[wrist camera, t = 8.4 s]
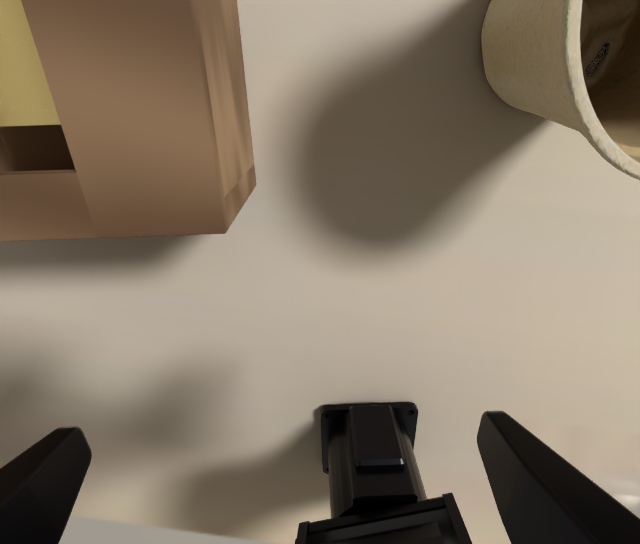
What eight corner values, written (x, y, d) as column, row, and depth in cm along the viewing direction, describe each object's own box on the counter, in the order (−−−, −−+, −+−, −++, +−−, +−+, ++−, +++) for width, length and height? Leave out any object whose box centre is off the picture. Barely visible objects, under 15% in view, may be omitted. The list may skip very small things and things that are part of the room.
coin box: (256, 184, 17) (225, 233, 11) (10, 192, 17) (-160, 246, 11) (218, -167, 12) (120, -451, 6) (-134, -158, 12) (-616, -435, 6)
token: (137, 116, 16) (67, 124, 11) (82, 118, 16) (-11, 126, 11) (99, -46, 13) (-11, -121, 9) (34, -43, 13) (-110, -118, 9)
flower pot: (421, 145, 17) (515, 185, 9) (464, -133, 13) (702, -492, 5) (613, 152, 17) (863, 196, 9) (716, -116, 13) (1308, -428, 5)
